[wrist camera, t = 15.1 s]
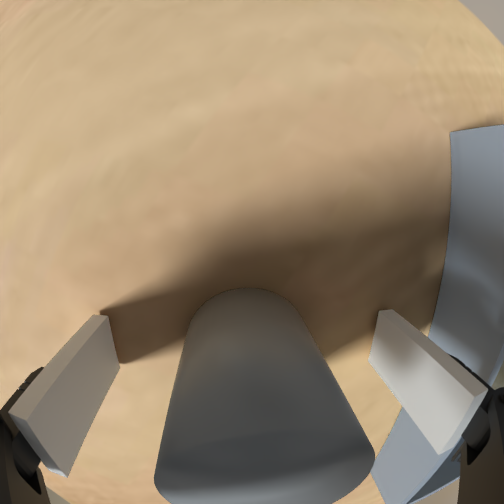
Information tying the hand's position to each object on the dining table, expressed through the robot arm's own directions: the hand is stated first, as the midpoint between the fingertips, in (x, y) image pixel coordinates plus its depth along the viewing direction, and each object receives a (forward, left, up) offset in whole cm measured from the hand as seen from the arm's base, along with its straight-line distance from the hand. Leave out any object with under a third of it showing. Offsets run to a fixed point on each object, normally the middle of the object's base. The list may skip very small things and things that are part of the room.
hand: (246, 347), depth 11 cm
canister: (0, 0, 0) cm, 0 cm away
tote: (+2, +19, 0) cm, 19 cm away
